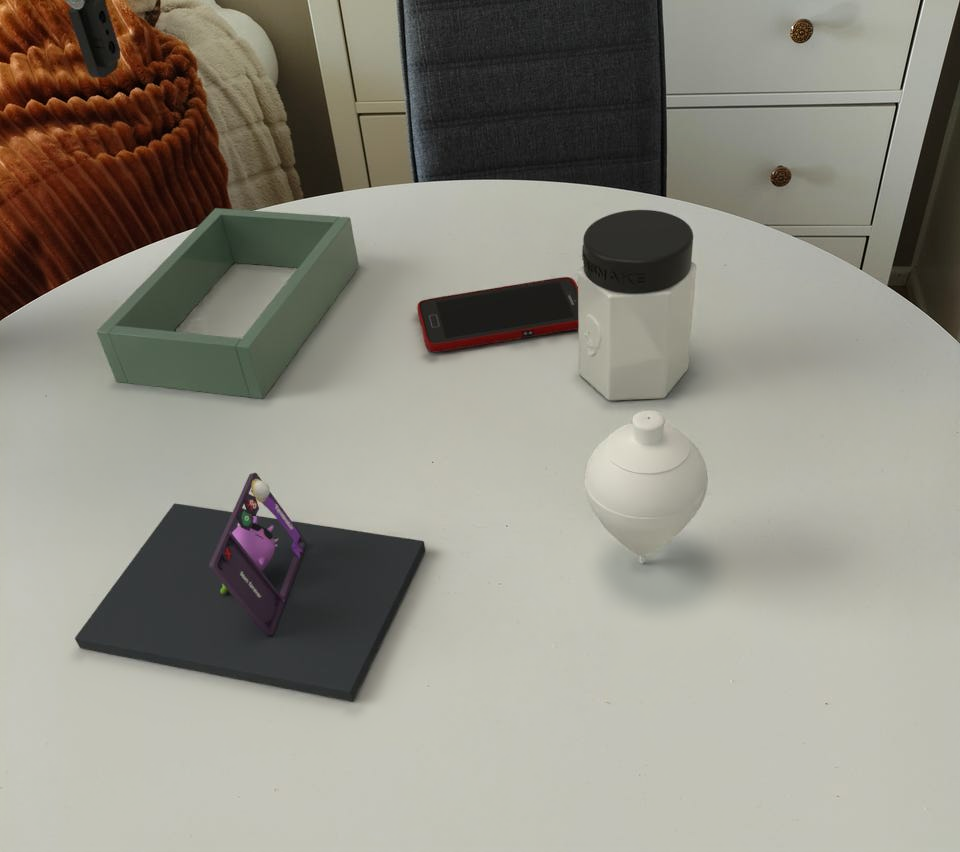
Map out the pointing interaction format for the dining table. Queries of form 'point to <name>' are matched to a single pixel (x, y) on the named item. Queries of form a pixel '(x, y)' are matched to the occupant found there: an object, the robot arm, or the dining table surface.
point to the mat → (227, 626)
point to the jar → (635, 304)
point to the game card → (255, 556)
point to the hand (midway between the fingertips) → (45, 71)
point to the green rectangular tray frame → (195, 270)
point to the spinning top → (646, 483)
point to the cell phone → (499, 314)
